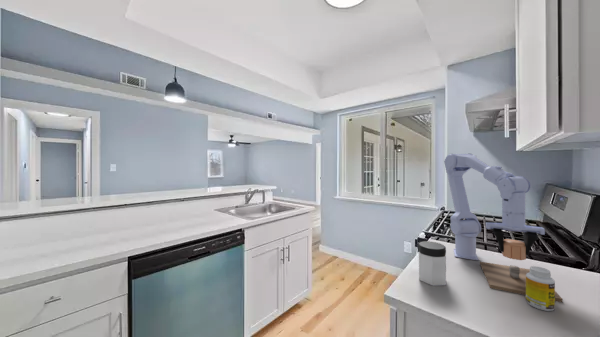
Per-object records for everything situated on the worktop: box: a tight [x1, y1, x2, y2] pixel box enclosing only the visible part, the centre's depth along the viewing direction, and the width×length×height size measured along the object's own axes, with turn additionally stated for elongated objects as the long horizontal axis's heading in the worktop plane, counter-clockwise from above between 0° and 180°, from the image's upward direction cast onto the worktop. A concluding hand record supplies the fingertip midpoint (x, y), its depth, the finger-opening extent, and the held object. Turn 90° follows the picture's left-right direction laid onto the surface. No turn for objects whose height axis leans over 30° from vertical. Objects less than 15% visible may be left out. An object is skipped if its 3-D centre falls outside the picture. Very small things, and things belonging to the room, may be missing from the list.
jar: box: [417, 240, 447, 287], centre depth 79 cm, size 9×8×12 cm
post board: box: [479, 261, 564, 303], centre depth 78 cm, size 20×16×4 cm
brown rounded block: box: [501, 238, 527, 261], centre depth 77 cm, size 6×6×5 cm
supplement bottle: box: [525, 265, 556, 312], centre depth 64 cm, size 6×6×10 cm
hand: (513, 252), depth 77 cm, fingers closed on brown rounded block, 6 cm apart
